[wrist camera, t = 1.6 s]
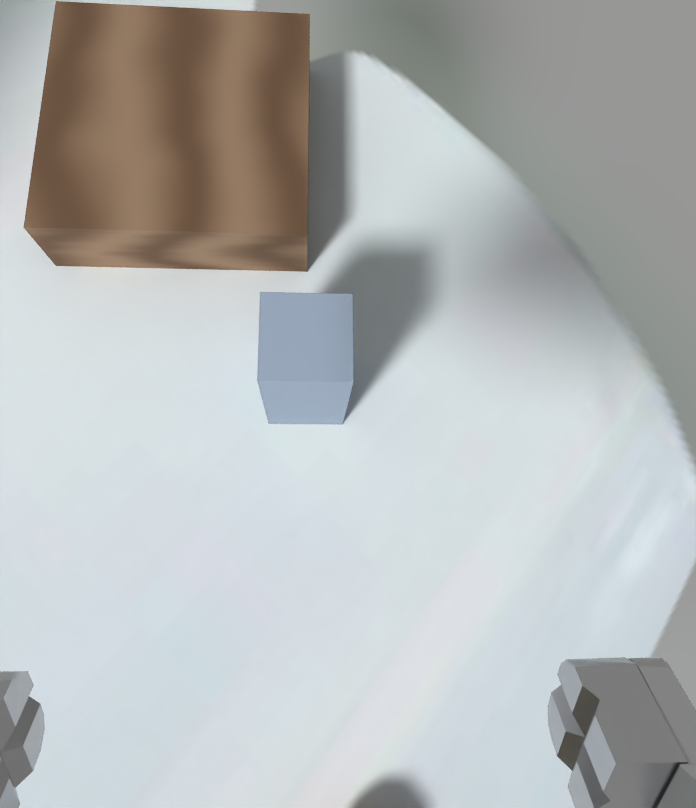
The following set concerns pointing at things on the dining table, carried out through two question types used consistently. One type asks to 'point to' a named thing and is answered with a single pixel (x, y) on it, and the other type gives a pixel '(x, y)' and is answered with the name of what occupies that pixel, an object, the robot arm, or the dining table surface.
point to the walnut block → (173, 139)
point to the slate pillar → (305, 356)
